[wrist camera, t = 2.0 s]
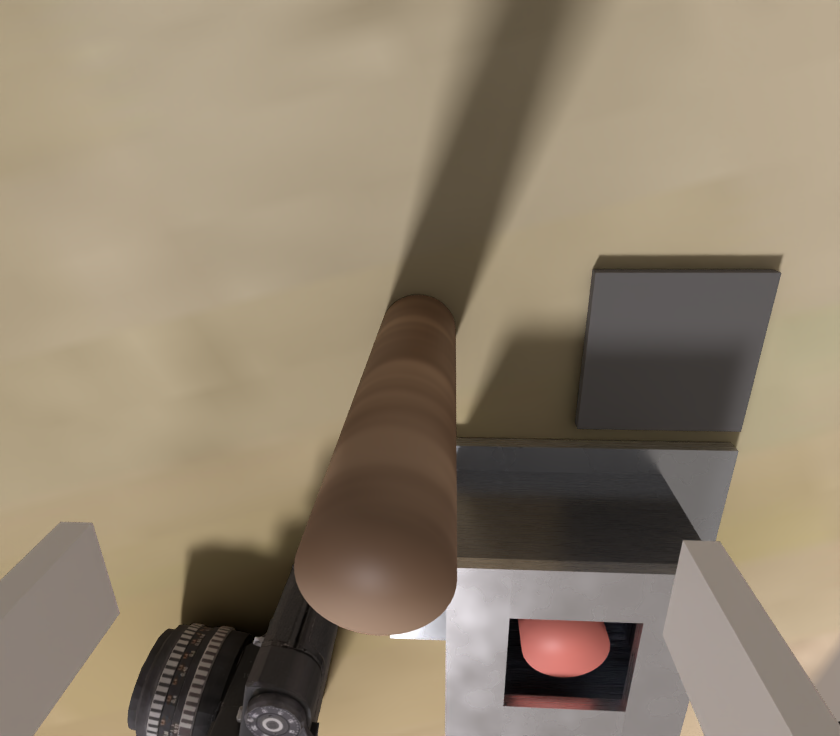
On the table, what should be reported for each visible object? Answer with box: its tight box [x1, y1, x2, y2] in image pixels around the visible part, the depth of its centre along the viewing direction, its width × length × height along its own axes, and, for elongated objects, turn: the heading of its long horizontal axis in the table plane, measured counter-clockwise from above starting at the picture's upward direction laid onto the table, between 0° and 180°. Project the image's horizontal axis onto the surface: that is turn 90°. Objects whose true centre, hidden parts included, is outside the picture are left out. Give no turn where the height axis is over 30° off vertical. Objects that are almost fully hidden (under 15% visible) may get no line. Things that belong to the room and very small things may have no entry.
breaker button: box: [518, 619, 610, 677], centre depth 27 cm, size 4×4×4 cm
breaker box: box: [390, 438, 738, 736], centre depth 28 cm, size 14×18×8 cm
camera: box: [128, 565, 338, 736], centre depth 31 cm, size 14×11×10 cm
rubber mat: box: [575, 270, 781, 432], centre depth 26 cm, size 8×8×1 cm
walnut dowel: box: [294, 295, 457, 636], centre depth 19 cm, size 4×4×16 cm
